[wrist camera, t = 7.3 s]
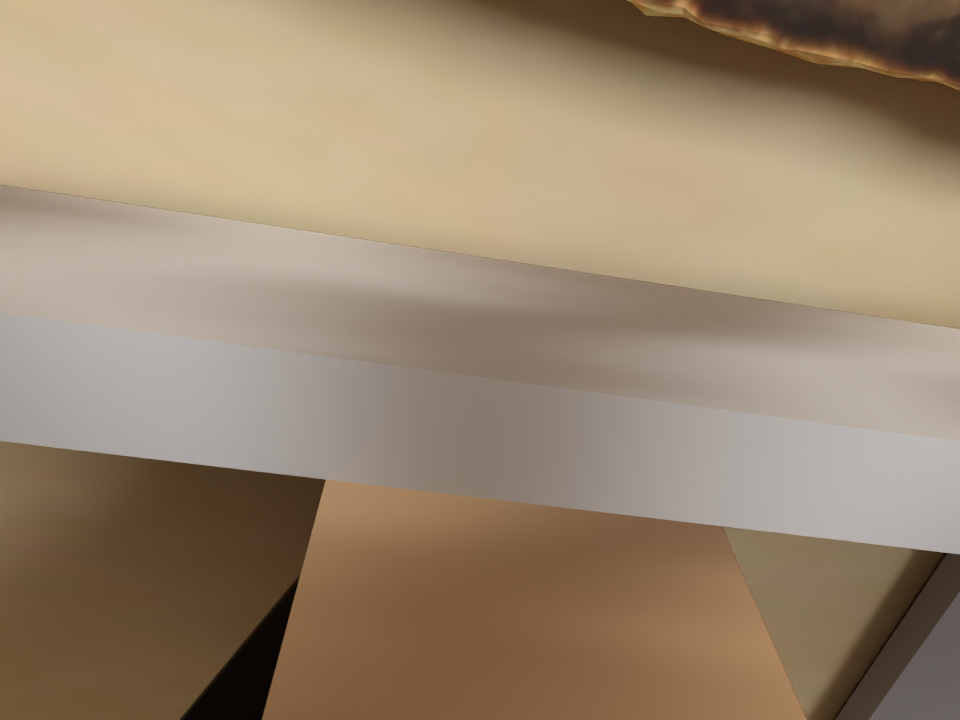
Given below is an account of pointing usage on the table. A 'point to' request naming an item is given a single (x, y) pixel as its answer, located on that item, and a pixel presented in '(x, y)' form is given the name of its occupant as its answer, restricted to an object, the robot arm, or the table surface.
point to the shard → (839, 31)
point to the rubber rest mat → (917, 659)
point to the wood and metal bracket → (484, 449)
